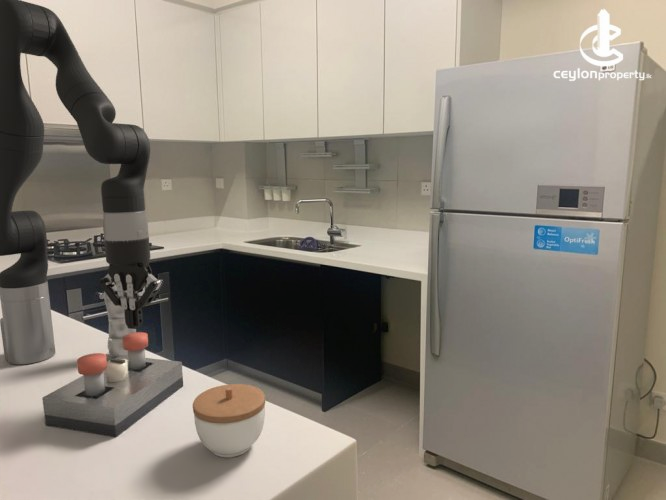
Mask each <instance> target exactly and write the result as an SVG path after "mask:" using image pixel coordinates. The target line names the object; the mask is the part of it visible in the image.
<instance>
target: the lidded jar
mask: <svg viewBox="0 0 666 500" xmlns="http://www.w3.org/2000/svg"><path fill="white" fill-rule="evenodd" d="M265 404H266V396H265V393H264V392H263V390H261V389H260V388H259V387H257V386H253V385H250V384H244V383H230V384H229V383H228V384H222V385H218V386H214V387H211V388H209V389H207V390H205V391H202V392H201V393H199V394H198V395H197V396H196V397H195V398H194V400H193V402H192V410H193V411H192V412H193V418H194V425H195V431H196V434H197V436H198V438H199V440H200V441H201V444H203V446H205V448H207V450H209V451H211V453H212V454H213V455H215V456H217V457H220V458H235V457H236V458H237V457H239V456H241V455H243V454H246V453H247V452H248V451H249V450H250V449H251V448H252V446H253V445H254V444H255V443H256V441H258V439H259V437H260V436H261V434H262V432H263V427H264V423H265V416H266V411H265V410H266V408H265V407H266V405H265Z"/></svg>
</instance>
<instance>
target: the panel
mask: <svg viewBox="0 0 666 500" xmlns="http://www.w3.org/2000/svg"><path fill="white" fill-rule="evenodd" d="M114 358H115V359H120V358H122V359H127V364H128V378H127V379H125V380H123V381H119V382H108V381H107V378H106V370H104V371H103V375H104V385H105V391H104V392H103V393H101V394H99V395H95V396H87V395H86V394H85V386H84V376H83V375H82V376H79V377H78V378H76V379H74V380H72V381H70V382H69V383H67V384H64V385H63V386H61V387H59V388H58V389H55V390H54V391H52V392H50V393H48V394H46V395H44V396H43V397H42V406H43V415H44V425H45V427H52V428H57V429H62V430H63V429H65V430H71V431H77V432H80V433H81V432H82V433H89V434H94V435H100V436H107V437H111V438H112V437H113V438H117V437H118V436H120V435H122V434H123V433H124V432H125V431H127V430H128V429H129V428H130V427H132V426H133V425H134V424H136V423H137V422H138V421H139V420H141V419H142V418H143V417H145V416H146V415H148V413H150V412H151V411H153V410H154V409H156V408H157V407H158V406H160V404H162V403H164V401H165V400H167V399H168V398H169V397H171V396H172V395H174V394H175V393H176V392H177V391H179V390H180V389H181V388H182V387H184V376H183V361H177V360H169V359H160V358H152V357H151V358H150V357H145V359H146V366H145V367H144V368H141V369H136V370H133V369H130V368H129V361H128V356H124V355H120V356H118V357H114Z"/></svg>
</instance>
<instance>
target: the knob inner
mask: <svg viewBox="0 0 666 500" xmlns="http://www.w3.org/2000/svg"><path fill="white" fill-rule="evenodd" d="M148 336H149V335H148V333H147V332H141V331H138V332H137V331H136V333H130V334H127V335H125V336H123V338H122V339H123V349H124V350H128V361H129V368H130V369H133V370H136V369H141V368H144V367H145V366H146V359H145V358H146V352H145V351H146V349H145V348H147V347H148V346H149V337H148Z"/></svg>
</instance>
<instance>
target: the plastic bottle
mask: <svg viewBox="0 0 666 500" xmlns="http://www.w3.org/2000/svg"><path fill="white" fill-rule="evenodd" d="M115 295H116V294H115ZM116 296H117V295H116ZM103 299H104V303H105V307H106V312H107V318H108V339H107V349H108V353H109V355H111V357H113V358H116V357H118V356H120V355H124V356H128V350H124V349H123V339H122V338H123V336H125V335H127V334H130V333H136V332H137V329H129V328H128V327H127V325H126V323H125V313H124V309H123V308H122V307H121V306H119V305H118V306H115V305H114V304H113V302H112V301H111V300H110V298H109V297H108V295H107V294H106V293H105V291H104V290H103Z"/></svg>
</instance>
